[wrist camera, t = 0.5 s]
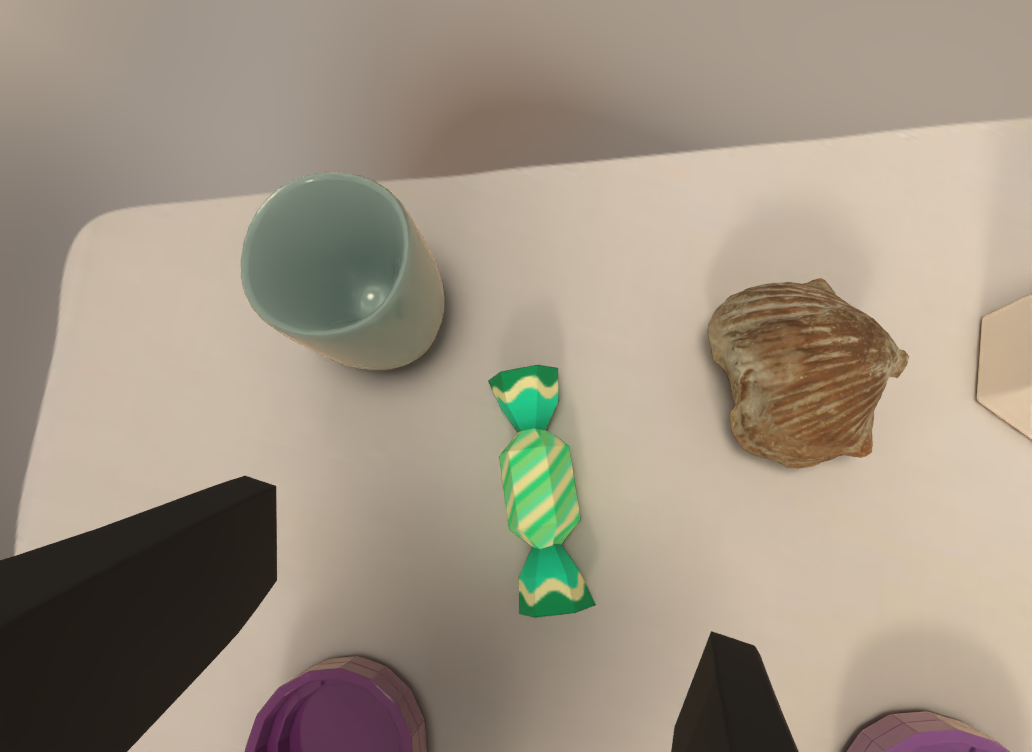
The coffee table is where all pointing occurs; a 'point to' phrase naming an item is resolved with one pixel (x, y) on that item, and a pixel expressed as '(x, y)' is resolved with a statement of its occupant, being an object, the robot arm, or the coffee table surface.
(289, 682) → the dish plum
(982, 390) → the jar
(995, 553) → the coffee table surface
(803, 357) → the seashell
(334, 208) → the cup
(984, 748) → the dish lilac
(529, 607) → the candy
